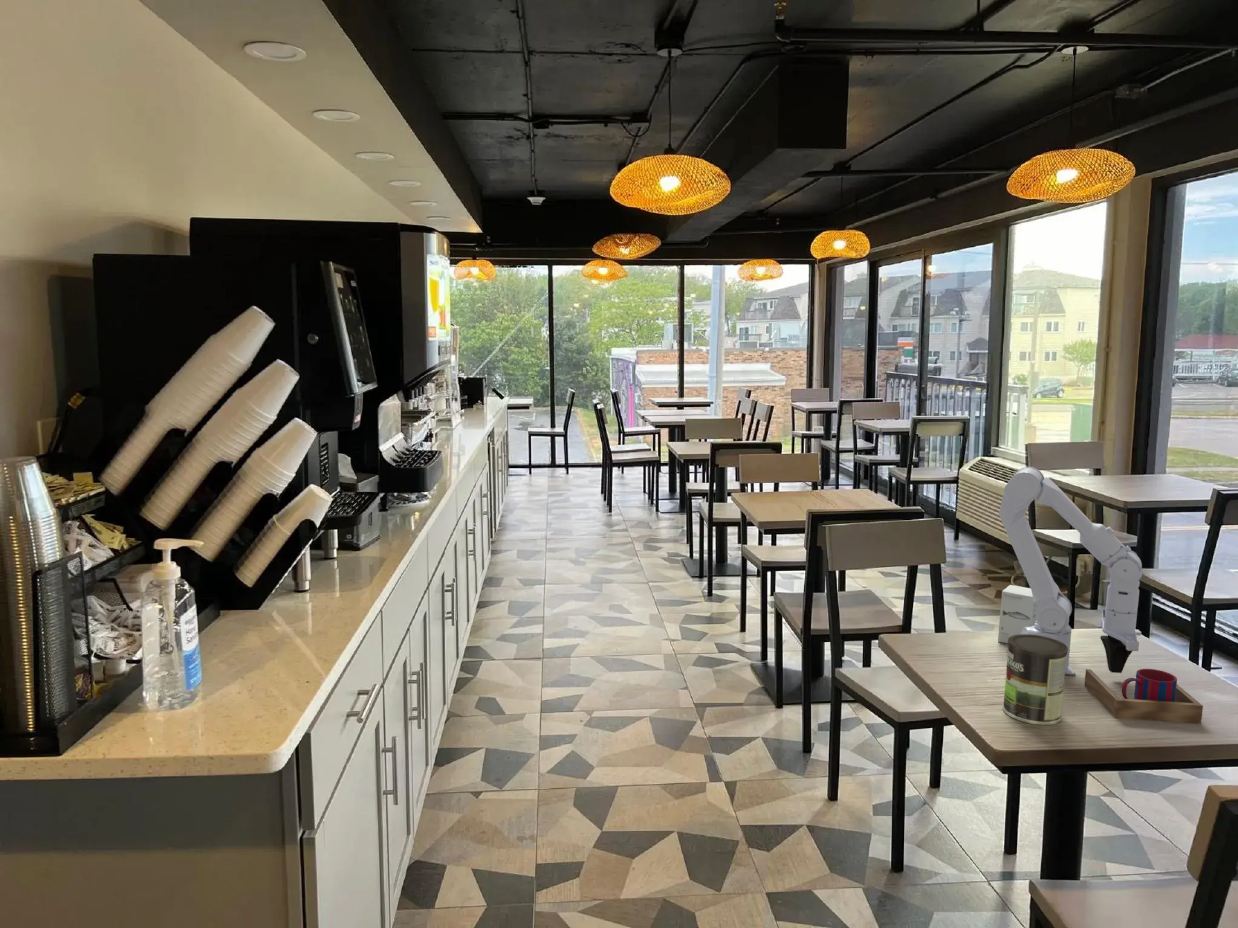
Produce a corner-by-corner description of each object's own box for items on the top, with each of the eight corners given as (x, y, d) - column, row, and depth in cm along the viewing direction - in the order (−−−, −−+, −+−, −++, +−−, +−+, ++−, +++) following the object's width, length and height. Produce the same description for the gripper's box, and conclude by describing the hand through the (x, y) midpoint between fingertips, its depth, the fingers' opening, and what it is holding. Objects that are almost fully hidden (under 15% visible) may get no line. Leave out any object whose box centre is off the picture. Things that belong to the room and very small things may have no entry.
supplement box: (996, 642, 204) (1000, 590, 202) (1006, 633, 209) (1010, 583, 207) (1030, 649, 199) (1034, 596, 197) (1038, 640, 205) (1043, 589, 203)
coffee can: (1016, 725, 160) (1021, 652, 158) (994, 701, 171) (999, 633, 168) (1072, 726, 160) (1078, 653, 158) (1046, 702, 170) (1052, 634, 168)
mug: (1181, 716, 164) (1184, 682, 163) (1127, 715, 165) (1131, 681, 164) (1160, 701, 171) (1164, 668, 170) (1109, 700, 171) (1112, 667, 170)
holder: (1114, 717, 164) (1116, 700, 163) (1084, 685, 179) (1085, 669, 178) (1201, 723, 161) (1203, 705, 161) (1162, 689, 176) (1164, 673, 176)
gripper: (1157, 622, 172) (1150, 686, 174) (1127, 599, 186) (1121, 659, 188) (1119, 619, 173) (1113, 684, 175) (1092, 598, 187) (1086, 657, 189)
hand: (1115, 671), depth 182 cm, fingers closed
